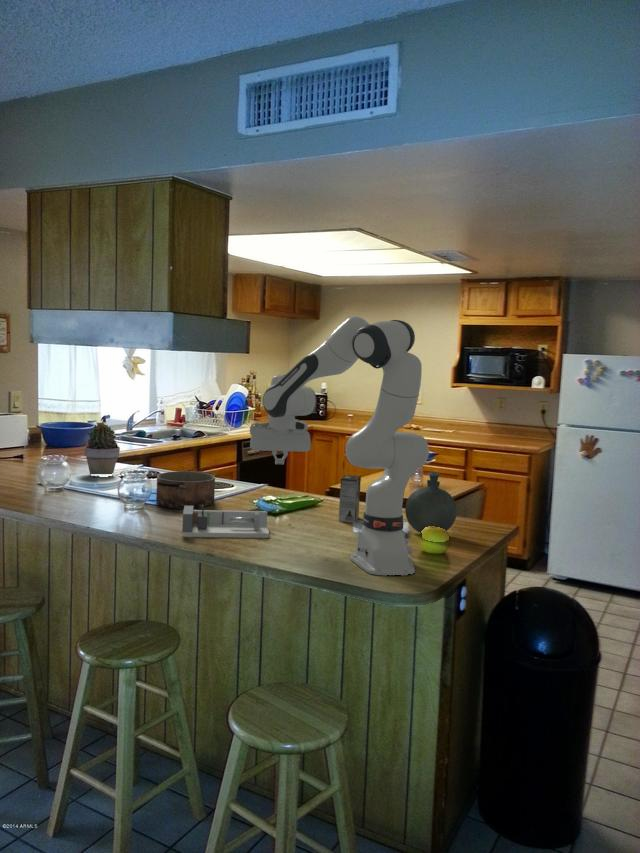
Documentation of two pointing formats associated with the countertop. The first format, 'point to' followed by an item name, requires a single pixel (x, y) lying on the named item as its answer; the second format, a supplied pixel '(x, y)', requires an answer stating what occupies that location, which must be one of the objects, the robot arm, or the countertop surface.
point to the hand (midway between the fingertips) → (279, 464)
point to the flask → (431, 506)
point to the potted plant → (101, 450)
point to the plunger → (248, 520)
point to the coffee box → (349, 498)
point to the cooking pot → (185, 489)
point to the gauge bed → (223, 524)
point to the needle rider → (202, 519)
